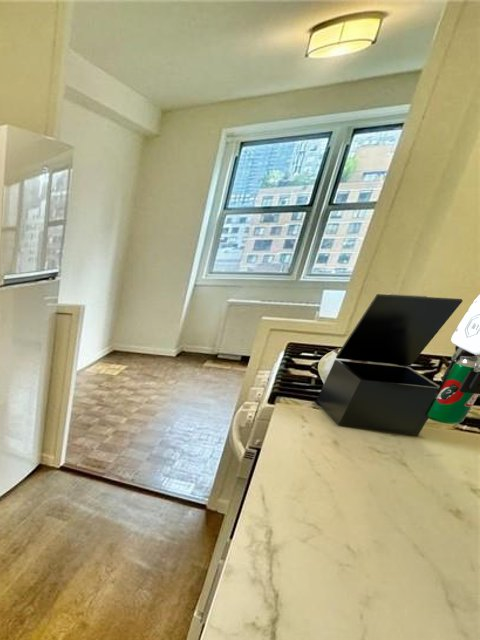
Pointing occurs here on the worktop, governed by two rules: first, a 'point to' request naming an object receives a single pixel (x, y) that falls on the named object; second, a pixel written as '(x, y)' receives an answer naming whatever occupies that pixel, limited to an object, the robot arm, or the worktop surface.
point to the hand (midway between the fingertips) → (461, 386)
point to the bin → (377, 397)
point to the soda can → (453, 394)
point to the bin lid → (397, 328)
